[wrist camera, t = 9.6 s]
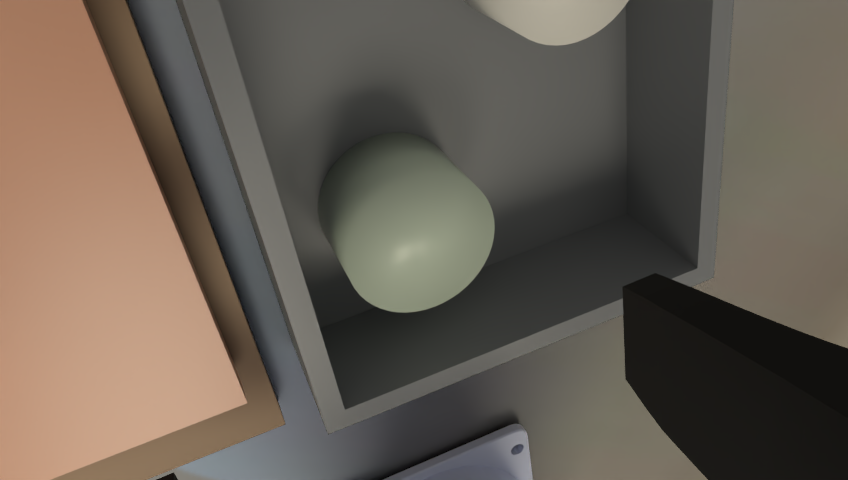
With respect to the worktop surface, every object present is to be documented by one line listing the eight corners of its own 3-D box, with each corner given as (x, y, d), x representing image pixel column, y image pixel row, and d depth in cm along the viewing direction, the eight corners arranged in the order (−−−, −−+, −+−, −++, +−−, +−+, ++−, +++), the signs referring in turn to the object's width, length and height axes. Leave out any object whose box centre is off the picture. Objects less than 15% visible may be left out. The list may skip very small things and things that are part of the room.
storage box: (633, 216, 26) (713, 277, 22) (293, 343, 23) (327, 434, 20) (633, -283, 18) (755, -298, 15) (115, -177, 15) (125, -168, 12)
